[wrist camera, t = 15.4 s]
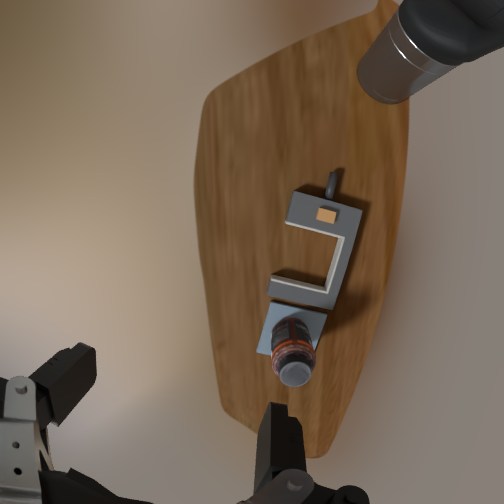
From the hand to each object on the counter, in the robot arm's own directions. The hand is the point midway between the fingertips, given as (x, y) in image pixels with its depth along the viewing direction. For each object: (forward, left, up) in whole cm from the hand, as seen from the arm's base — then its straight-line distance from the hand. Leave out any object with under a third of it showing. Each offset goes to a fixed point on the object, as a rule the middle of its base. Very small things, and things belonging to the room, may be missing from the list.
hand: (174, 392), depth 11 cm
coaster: (+11, +11, -32) cm, 36 cm away
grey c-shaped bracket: (-4, +10, -32) cm, 34 cm away
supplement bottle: (+11, +10, -32) cm, 35 cm away
